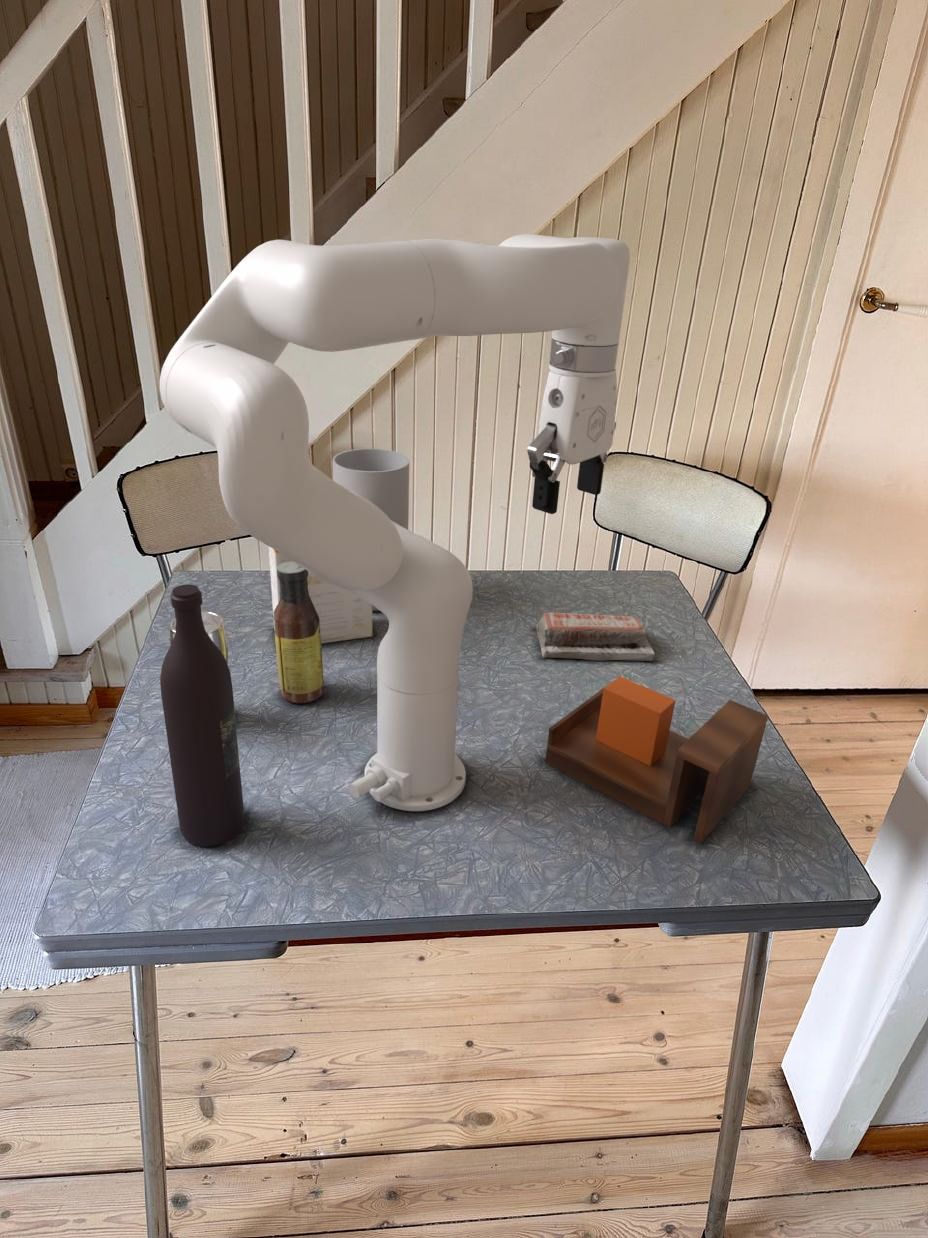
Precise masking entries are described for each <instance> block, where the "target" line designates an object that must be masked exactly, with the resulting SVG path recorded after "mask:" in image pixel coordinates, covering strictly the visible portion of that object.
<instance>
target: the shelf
mask: <svg viewBox="0 0 928 1238" xmlns="http://www.w3.org/2000/svg"><path fill="white" fill-rule="evenodd" d="M606 686H607V685H605V686H604V687H602V689H600V690H599V691H597V692H596V693H595V694H593V695H592V696H590V697H589V698H588V699H587V700H585V701H583V702H582V703H581V704H580V705H579V706H577V707H576V708H574V709H573V710H572V711H570V712H569V713H567V714H566V715H565V716H563V717H562V718H561V719H559V720H558V721H557V722H556V723H554V724H553V725H551V726H550V727H548V734H547V735H548V736H547V744H546V750H545V751H546V753H545V761H544V764H546V765H549V766H550V767H552V768H554V769H556V770H557V771H560V772H562V773H564V774H565V775H568V776H569V777H572V778H573V779H575V780H577V781H578V782H579V781H580V783H583V784H584V785H587V786H589V787H591V788H593V789H594V790H596V791H598V792H600V793H602V794H605V795H606V796H608V797H609V798H612V799H614V800H616V801H618V802H620V803H621V804H624V805H625V806H627V807H629V808H631V809H633V810H635V811H637V812H639V813H641V814H642V815H645V816H647V817H649V818H650V819H652V820H654V821H656V822H658V823H659V824H662V825H664V826H666V827H668V828H671V827H672V826H673V825H674V824H675V823H676V822H677V820H679V818H680V817H681V816H682V815H683V814H684V813H685V812H686V811H687V810H688V808H690V807H691V805H692V804H694V802H695V801H696V800H697V799H698V798H699V797H700V796H701V795H702V794H703V797H702V802H701V806H700V810H699V814H698V817H697V822H696V827H695V831H694V834H693V835H694V836H693V841H695V842H697V843H699V844H702V843H703V842H704V841H705V840H706V838H707V837H708V836H709V835H710V834H711V833H712V832H713V830H714V829H715V828H716V827H717V826H718V824H719V823H721V821H722V820H723V819H724V817H725V816H726V815H727V814H728V813H729V812H730V811H731V809H732V808H733V807H734V806H735V805H736V804H737V802H738V801H739V800H740V799H741V798H742V797H743V795H744V794H745V793H746V792H747V790H748V789H749V788H750V787H751V783H752V779H753V776H754V773H755V772H754V771H755V767H756V764H757V760H758V757H759V754H760V753H759V752H760V749H761V745H762V741H763V738H764V733H765V730H766V726H767V722H768V719H769V715H768V714H765V713H763V712H761V711H759V710H756V709H753V708H751V707H749V706H746V705H744V704H741V703H739V702H737V701H734V700H733V699H732V700H731V699H729V700H728V701H727V702H726V703H725V704H723V706H721V707H720V709H718V710H717V711H716V712H715V713H714V714H713V715H712V716H711V717H710V718H709V719H708V720H707V721H706V722H705V723H704V724H703V725H702V726H700V728H699V729H697V730H696V731H695V732H694V733H693V734H692V735H691V736H690V737H689V738H688V737H686V736H684V735H681V734H679V733H677V732H675V731H672V730H670V731H669V736H668V741H667V746H666V751H665V753H664V754H663V755H662V756H661V757H660V758H659V759H657V760H656V761H655V762H654V763H653V764H652V765H651V766H649V765H647V764H645V763H643V762H641V761H639V760H636V759H634V758H632V757H630V756H628V755H626V754H624V753H622V752H620V751H618V750H616V749H614V748H612V747H610V746H607V745H605V744H603V743H601V742H599V741H597V740H596V736H597V729H598V723H599V716H600V709H601V703H602V696H603V690H604V688H605V687H606Z"/></svg>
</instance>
